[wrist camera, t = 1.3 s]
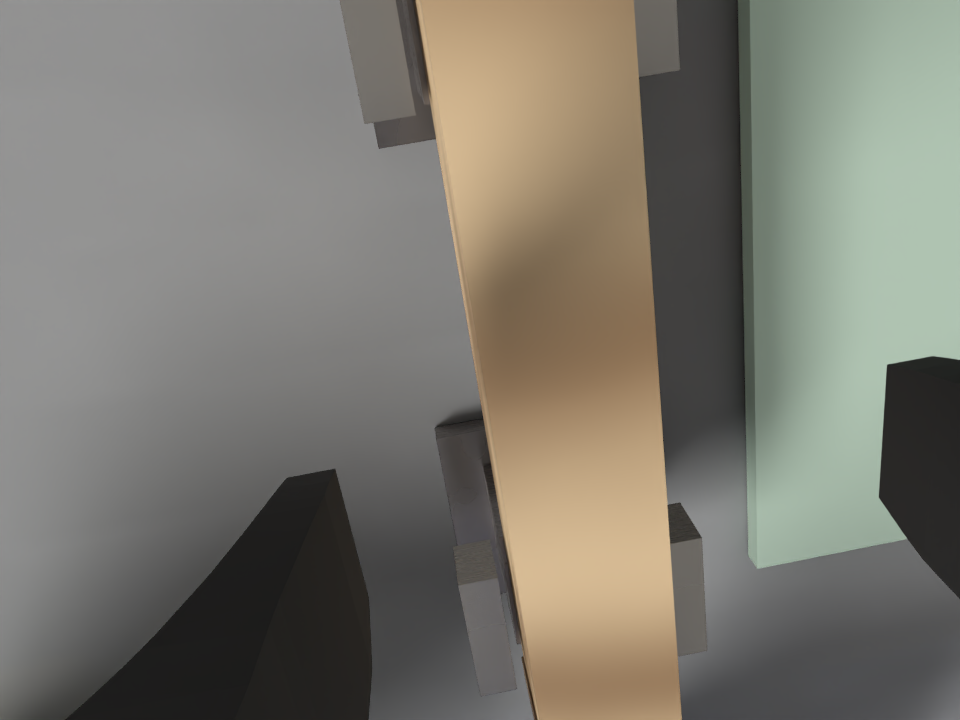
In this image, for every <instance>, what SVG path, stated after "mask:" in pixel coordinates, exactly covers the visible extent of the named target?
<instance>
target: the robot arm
mask: <svg viewBox="0 0 960 720" xmlns="http://www.w3.org/2000/svg"><path fill="white" fill-rule="evenodd" d="M879 499H880V500H881V502H882V503H883V504H884V506H885V507H886V509H887V510H888V512H889V513H890V515H891V516H892V518H893V519H894V520H895V522H896V523H897V525H898V526H899V528H900V529H901V531H902V532H903V533H904V535H905V536H906V537H907V539H908V540H909V541H910V543H911V544H912V545H913V547H914V548H915V549H916V551H917V552H918V553H919V555H920V556H921V557H922V559H923V560H924V561H925V562H926V563H927V564H928V565H929V566H930V568H931V569H932V570H933V571H934V572H935V573H936V574H937V575H938V576H939V577H940V578H941V579H942V581H943V582H944V583H945V584H946V585H947V586H948V587H949V588H950V589H951V590H952V591H953V592H954V593H955V594H956V595H957V596H958V597H959V599H960V360H957V359H951V358H944V357H936V356H930V357H925V358H920V359H914V360H909V361H904V362H898V363H893V364H888V365H887V371H886V387H885V403H884V419H883V436H882V452H881V468H880V484H879ZM371 677H372V655H371V631H370V612H369V597H368V593H367V589H366V585H365V581H364V577H363V574H362V570H361V566H360V562H359V558H358V555H357V551H356V547H355V543H354V539H353V535H352V532H351V528H350V524H349V520H348V516H347V512H346V509H345V505H344V501H343V497H342V493H341V490H340V486H339V482H338V478H337V474H336V470H335V469H332V470H326V471H321V472H316V473H310V474H305V475H300V476H295V477H289V478H287V479H286V480H285V481H284V482H283V483H282V484H281V486H280V487H279V488H278V489H277V491H276V492H275V493H274V494H273V496H272V497H271V498H270V500H269V501H268V502H267V503H266V505H265V506H264V507H263V509H262V510H261V511H260V513H259V514H258V515H257V516H256V518H255V519H254V520H253V522H252V523H251V524H250V525H249V527H248V528H247V529H246V531H245V532H244V533H243V534H242V536H241V537H240V538H239V539H238V540H237V542H236V543H235V544H234V545H233V547H232V548H231V549H230V550H229V552H228V553H227V554H226V555H225V557H224V558H223V559H222V560H221V561H220V563H219V564H218V565H217V566H216V568H215V569H214V570H213V571H212V573H211V574H210V575H209V576H208V577H207V578H206V579H205V581H204V582H203V583H202V584H201V585H200V586H199V587H198V588H197V589H196V591H195V592H194V593H193V594H192V595H191V596H190V597H189V598H188V599H187V600H186V602H185V603H184V604H183V605H182V606H181V607H180V608H179V609H178V610H177V612H176V613H175V614H174V615H173V616H172V617H171V618H170V619H169V620H168V622H167V623H166V624H165V625H164V626H163V627H162V628H161V629H160V630H159V632H158V633H157V634H156V635H155V636H154V637H153V638H152V639H151V640H150V641H149V642H148V643H147V644H146V645H145V646H144V647H143V648H142V649H141V650H140V651H139V652H138V653H137V654H136V655H135V656H134V657H133V658H132V659H131V660H130V661H129V662H128V663H127V664H126V665H125V666H124V667H123V668H122V669H121V670H120V671H119V672H117V673H116V674H115V675H114V676H113V677H112V678H111V679H110V680H109V681H108V682H107V683H106V684H104V685H103V686H102V687H101V688H100V689H99V690H98V691H97V692H96V693H95V694H94V695H93V696H92V697H90V698H89V699H88V700H87V701H86V702H85V703H84V704H83V705H82V706H81V707H79V708H78V709H77V710H76V711H75V712H74V713H73V714H71V715H70V716H69V717H68V718H67V719H66V720H368V718H369V705H370V691H371Z"/></svg>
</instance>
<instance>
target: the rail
mask: <svg viewBox="0 0 960 720" xmlns="http://www.w3.org/2000/svg"><path fill="white" fill-rule="evenodd" d="M413 4H414V10H415V16H416V22H417V28H418V34H419V40H420V45H421V51H422V57H423V63H424V69H425V75H426V81H427V87H428V93H429V99H430V105H431V111H432V117H433V122H434V128H435V134H436V140H437V146H438V152H439V158H440V164H441V170H442V176H443V182H444V188H445V194H446V200H447V205H448V211H449V217H450V223H451V229H452V235H453V241H454V247H455V253H456V259H457V265H458V271H459V277H460V283H461V288H462V294H463V300H464V306H465V312H466V318H467V324H468V330H469V336H470V342H471V348H472V354H473V360H474V365H475V371H476V377H477V383H478V389H479V395H480V401H481V407H482V413H483V419H484V425H485V431H486V437H487V443H488V448H489V454H490V460H491V466H492V472H493V478H494V484H495V490H496V496H497V502H498V508H499V514H500V520H501V526H502V531H503V537H504V543H505V549H506V555H507V561H508V567H509V573H510V579H511V585H512V591H513V597H514V603H515V608H516V614H517V620H518V626H519V632H520V638H521V644H522V650H523V656H524V657H522V663H523V669H524V675H525V680H526V684H527V689H528V693H529V698H530V703H531V707H532V712H533V716H534V720H682V716H681V701H680V686H679V671H678V656H677V641H676V626H675V611H674V596H673V581H672V566H671V551H670V536H669V521H668V506H667V491H666V476H665V461H664V446H663V431H662V416H661V402H660V387H659V372H658V357H657V342H656V327H655V312H654V297H653V282H652V267H651V252H650V237H649V222H648V207H647V192H646V177H645V162H644V147H643V132H642V117H641V102H640V88H639V73H638V58H637V43H636V28H635V13H634V0H413Z"/></svg>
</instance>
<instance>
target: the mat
mask: <svg viewBox="0 0 960 720" xmlns="http://www.w3.org/2000/svg"><path fill="white" fill-rule="evenodd" d="M738 32H739V85H740V138H741V191H742V245H743V298H744V351H745V404H746V458H747V511H748V556H749V557H750V559H751V560H752V562H753V563H754V565H755V566H756V568H757V569H759V568H764V567H769V566H774V565H779V564H784V563H790V562H795V561H800V560H805V559H810V558H815V557H820V556H825V555H830V554H835V553H840V552H845V551H850V550H855V549H860V548H865V547H870V546H875V545H880V544H885V543H890V542H895V541H900V540H905V539H907V537H906V536H905V535H904V533H903V532H902V531H901V529H900V528H899V526H898V525H897V523H896V522H895V520H894V519H893V518H892V516H891V515H890V513H889V512H888V510H887V509H886V507H885V506H884V504H883V503H882V502H881V500H880V499H879V484H880V468H881V452H882V436H883V419H884V403H885V387H886V371H887V365H888V364H893V363H898V362H904V361H909V360H914V359H920V358H925V357H930V356H936V357H944V358H951V359H957V360H960V0H738Z"/></svg>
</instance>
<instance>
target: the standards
mask: <svg viewBox="0 0 960 720" xmlns="http://www.w3.org/2000/svg"><path fill="white" fill-rule="evenodd" d="M340 5H341V9H342V14H343V19H344V24H345V29H346V34H347V39H348V44H349V49H350V54H351V59H352V64H353V69H354V74H355V79H356V84H357V88H358V93H359V98H360V103H361V108H362V113H363V118H364V123H365V124H368V123H373V122H374V127H375V132H376V137H377V142H378V147H379V149H380V148H386V147H392V146H397V145H403V144H409V143H415V142H421V141H426V140H432V139H436V134H435V128H434V122H433V117H432V111H431V105H430V99H429V93H428V87H427V81H426V75H425V69H424V63H423V57H422V51H421V45H420V40H419V34H418V28H417V22H416V16H415V10H414V4H413V0H340ZM634 13H635V28H636V43H637V58H638V73H639V77H643V76H649V75H655V74H661V73H667V72H672V71H678V70H680V62H679V41H678V19H677V0H634ZM435 432H436V440H437V445H438V450H439V455H440V460H441V465H442V470H443V475H444V480H445V485H446V490H447V495H448V500H449V506H450V511H451V516H452V521H453V526H454V531H455V536H456V541H457V546H453V551H454V558H455V566H456V573H457V580H458V587H459V592H460V597H461V602H462V607H463V612H464V617H465V622H466V627H467V632H468V637H469V642H470V646H471V651H472V656H473V661H474V666H475V671H476V676H477V681H478V686H479V691H480V696H486V695H491V694H496V693H501V692H506V691H511V690H516V689H517V685H516V679H515V673H514V668H513V662H512V656H511V651H510V645H509V640H508V634H507V628H506V623H505V617H504V611H503V606H502V600H501V594H503V593H506V595H507V600H508V604H509V609H510V614H511V618H512V623H513V627H514V632H515V637H516V641H517V644H521V638H520V632H519V626H518V620H517V614H516V608H515V603H514V597H513V591H512V585H511V579H510V573H509V567H508V561H507V555H506V549H505V543H504V537H503V531H502V526H501V520H500V514H499V508H498V502H497V496H496V490H495V484H494V478H493V472H492V466H491V460H490V454H489V448H488V443H487V437H486V431H485V425H484V419H479V420H473V421H468V422H463V423H457V424H452V425H447V426H441V427H436V428H435ZM667 506H668V521H669V536H670V551H671V566H672V581H673V596H674V611H675V626H676V641H677V656H683V655H688V654H693V653H698V652H703V651H707V636H706V614H705V593H704V572H703V551H702V537H701V536H700V534H699V532H698V531H697V529H696V528H695V526H694V524H693V523H692V521H691V519H690V518H689V516H688V515H687V513H686V511H685V510H684V508H683V506H682V505H681V503H675V504H670V505H667Z"/></svg>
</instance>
